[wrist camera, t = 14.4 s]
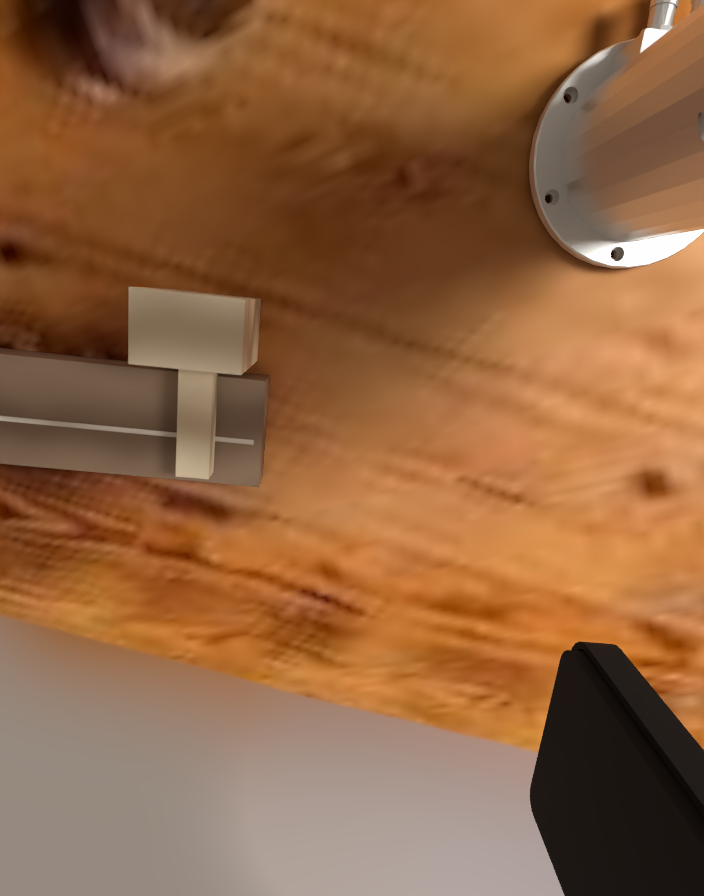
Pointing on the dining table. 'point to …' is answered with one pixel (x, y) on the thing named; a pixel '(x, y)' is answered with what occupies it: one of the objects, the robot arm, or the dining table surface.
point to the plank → (121, 417)
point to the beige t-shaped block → (193, 357)
